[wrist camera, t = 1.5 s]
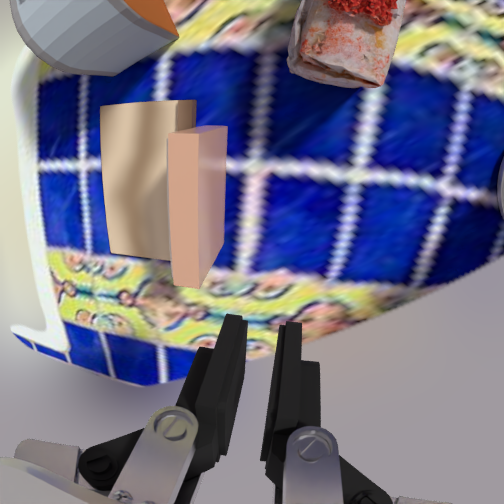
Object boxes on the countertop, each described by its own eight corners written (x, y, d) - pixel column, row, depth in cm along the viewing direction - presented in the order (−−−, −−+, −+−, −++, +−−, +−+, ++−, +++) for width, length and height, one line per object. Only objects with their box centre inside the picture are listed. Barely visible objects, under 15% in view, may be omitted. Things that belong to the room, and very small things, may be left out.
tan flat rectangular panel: (182, 100, 27) (180, 100, 26) (183, 259, 34) (181, 262, 34) (103, 105, 28) (100, 106, 27) (113, 250, 35) (110, 252, 35)
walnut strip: (196, 100, 27) (192, 99, 26) (195, 261, 34) (192, 266, 33) (182, 100, 27) (178, 100, 26) (183, 259, 34) (180, 264, 33)
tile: (227, 126, 28) (198, 133, 20) (223, 243, 33) (199, 289, 25) (202, 125, 28) (164, 133, 20) (200, 240, 33) (170, 284, 25)
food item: (368, 102, 25) (401, 100, 16) (283, 77, 25) (276, 61, 16) (395, -16, 19) (430, -56, 10) (315, -41, 19) (319, -92, 10)
